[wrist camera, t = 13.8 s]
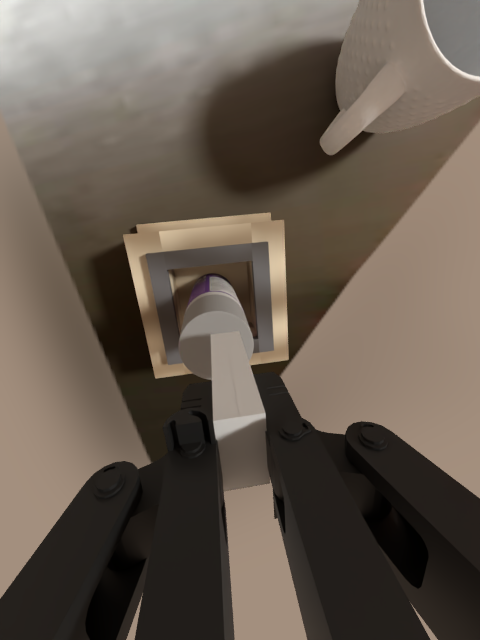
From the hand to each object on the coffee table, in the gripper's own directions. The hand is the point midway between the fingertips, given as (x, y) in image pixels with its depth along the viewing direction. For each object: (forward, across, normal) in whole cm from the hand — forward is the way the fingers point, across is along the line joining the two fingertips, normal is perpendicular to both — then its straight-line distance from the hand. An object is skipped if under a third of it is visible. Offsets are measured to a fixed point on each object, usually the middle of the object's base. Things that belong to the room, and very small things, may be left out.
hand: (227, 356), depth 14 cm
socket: (+18, 0, 0) cm, 18 cm away
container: (+17, 0, 0) cm, 17 cm away
